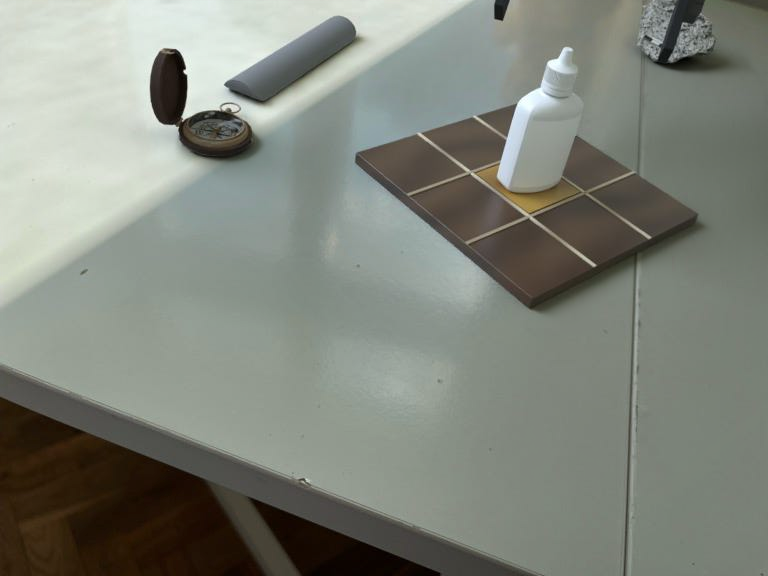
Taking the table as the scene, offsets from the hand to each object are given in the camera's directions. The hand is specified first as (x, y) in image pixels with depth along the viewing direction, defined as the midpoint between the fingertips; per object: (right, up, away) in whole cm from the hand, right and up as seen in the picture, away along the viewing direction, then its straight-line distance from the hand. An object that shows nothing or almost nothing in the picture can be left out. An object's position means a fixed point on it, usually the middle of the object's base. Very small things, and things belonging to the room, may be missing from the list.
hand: (580, 34), depth 63 cm
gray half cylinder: (-25, +2, +17) cm, 30 cm away
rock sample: (+19, +8, +31) cm, 37 cm away
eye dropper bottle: (-3, -11, +4) cm, 13 cm away
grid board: (-4, -12, +5) cm, 13 cm away
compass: (-31, -7, +5) cm, 32 cm away
